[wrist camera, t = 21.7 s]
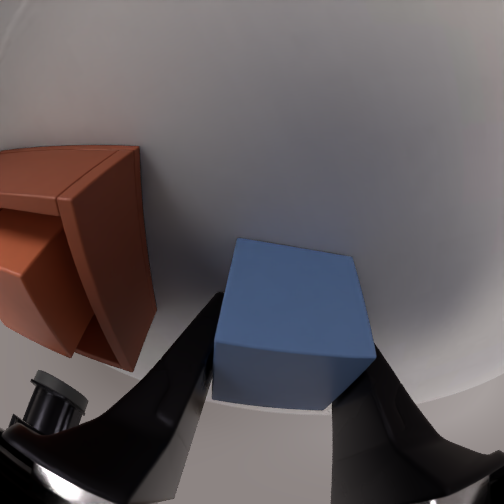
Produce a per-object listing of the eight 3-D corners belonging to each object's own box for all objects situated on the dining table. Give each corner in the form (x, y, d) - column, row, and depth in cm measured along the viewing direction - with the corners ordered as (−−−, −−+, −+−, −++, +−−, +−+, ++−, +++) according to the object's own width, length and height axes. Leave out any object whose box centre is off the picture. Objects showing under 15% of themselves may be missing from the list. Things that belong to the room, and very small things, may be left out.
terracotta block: (48, 264, 10) (4, 326, 7) (24, 190, 8) (-40, 250, 5) (113, 281, 10) (71, 359, 7) (94, 196, 8) (20, 277, 5)
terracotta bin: (41, 277, 12) (11, 322, 9) (1, 150, 7) (-53, 189, 4) (157, 309, 12) (133, 373, 9) (140, 145, 7) (71, 199, 5)
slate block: (227, 313, 11) (211, 399, 8) (237, 236, 9) (213, 341, 6) (318, 325, 12) (323, 410, 8) (353, 256, 9) (378, 357, 6)
